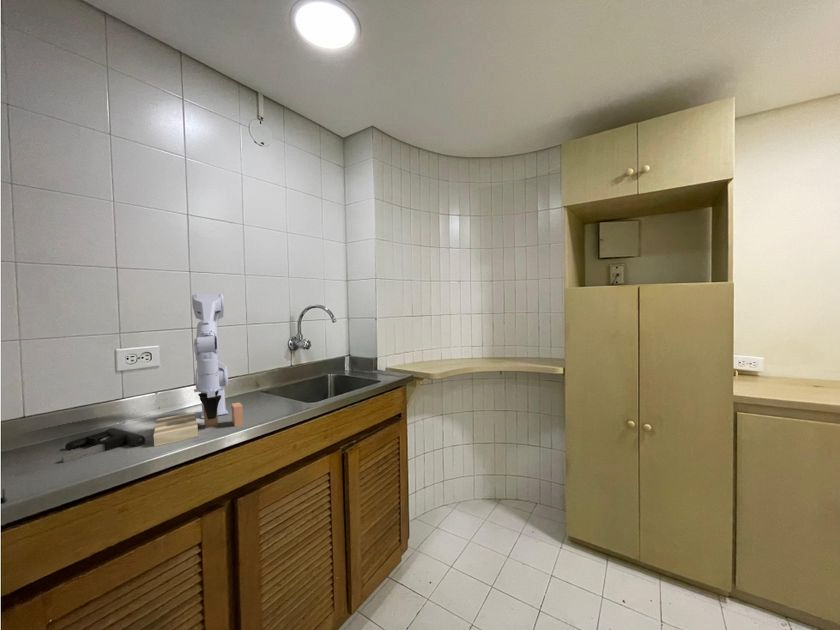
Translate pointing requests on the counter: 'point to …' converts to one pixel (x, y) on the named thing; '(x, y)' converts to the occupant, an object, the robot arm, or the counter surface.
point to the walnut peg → (210, 421)
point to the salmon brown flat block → (237, 414)
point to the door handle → (102, 443)
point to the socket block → (175, 429)
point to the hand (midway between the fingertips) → (210, 416)
